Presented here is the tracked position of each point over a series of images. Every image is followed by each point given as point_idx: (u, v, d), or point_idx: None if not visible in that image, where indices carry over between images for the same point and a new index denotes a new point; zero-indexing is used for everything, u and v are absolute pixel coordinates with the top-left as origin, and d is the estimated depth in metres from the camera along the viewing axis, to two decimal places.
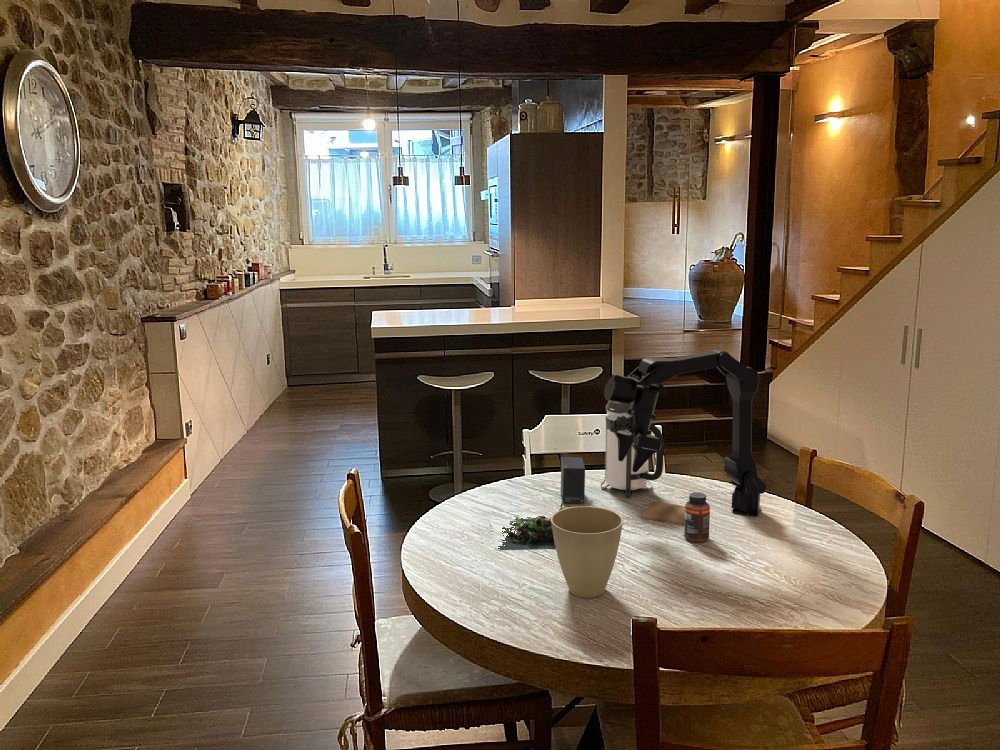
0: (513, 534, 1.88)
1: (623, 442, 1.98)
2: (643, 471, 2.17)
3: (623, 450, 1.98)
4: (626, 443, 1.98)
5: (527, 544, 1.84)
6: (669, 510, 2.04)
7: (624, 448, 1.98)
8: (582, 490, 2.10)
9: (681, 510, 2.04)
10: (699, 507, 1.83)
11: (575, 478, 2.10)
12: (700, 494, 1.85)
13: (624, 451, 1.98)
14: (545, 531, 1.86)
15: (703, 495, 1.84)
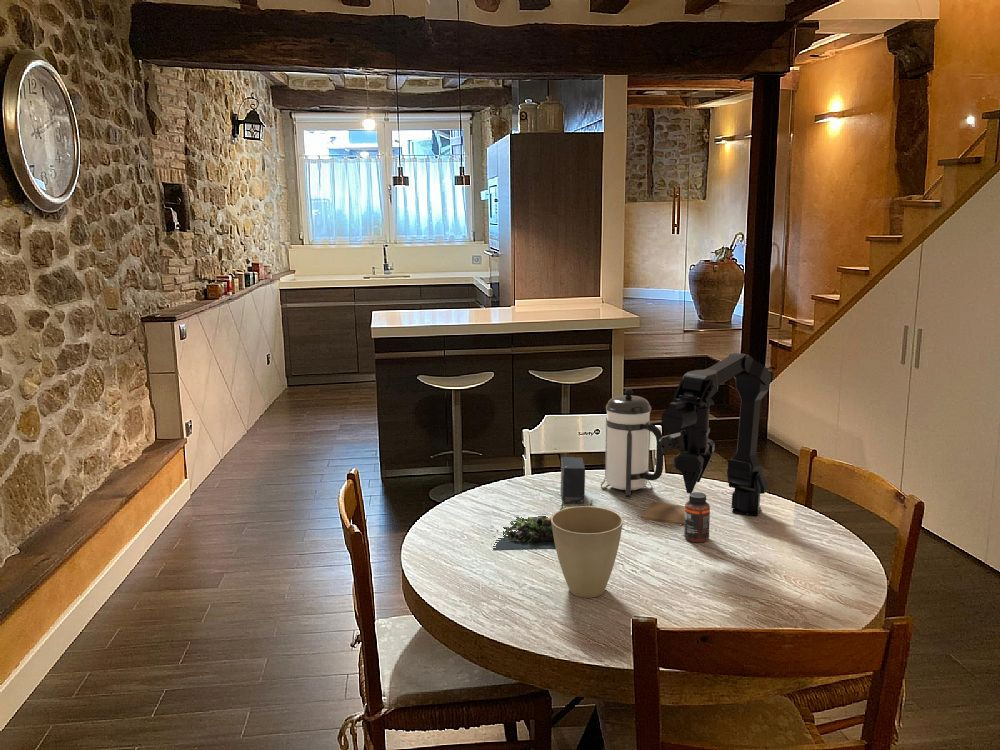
0: (514, 534, 1.88)
1: None
2: (643, 471, 2.17)
3: None
4: None
5: (528, 544, 1.84)
6: (669, 510, 2.04)
7: None
8: (582, 490, 2.10)
9: (681, 510, 2.04)
10: (699, 507, 1.83)
11: (575, 478, 2.10)
12: (700, 494, 1.85)
13: None
14: (546, 531, 1.86)
15: (703, 495, 1.84)
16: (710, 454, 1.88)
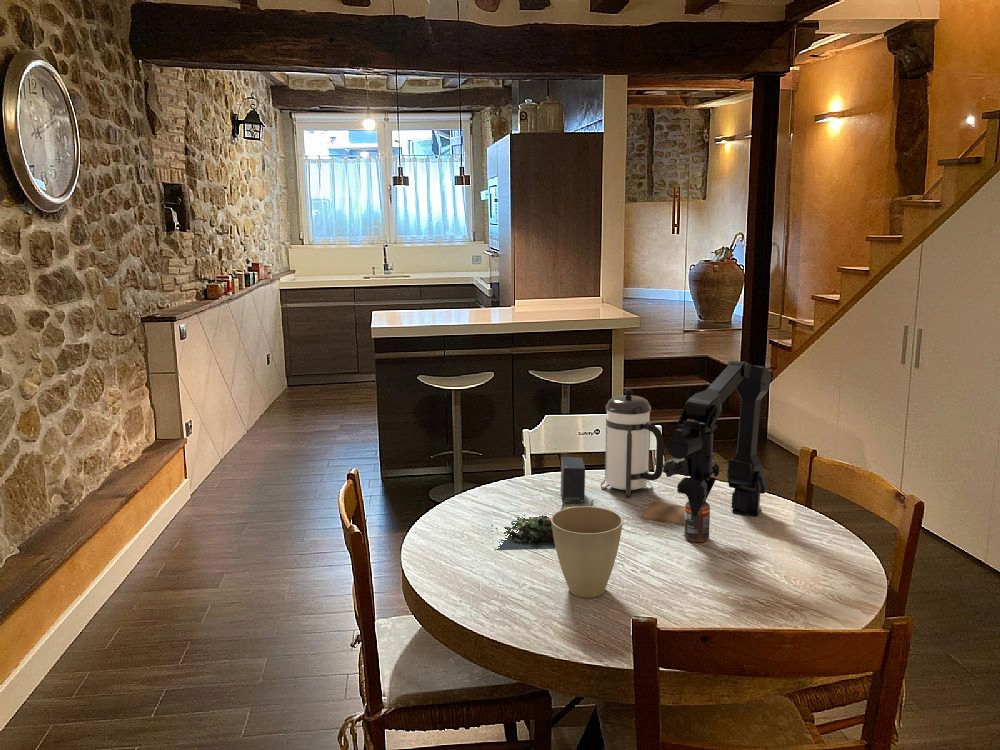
0: (515, 534, 1.88)
1: None
2: (643, 471, 2.17)
3: None
4: None
5: (529, 544, 1.84)
6: (669, 510, 2.04)
7: None
8: (582, 490, 2.10)
9: (681, 510, 2.04)
10: None
11: (575, 478, 2.10)
12: None
13: None
14: (547, 531, 1.86)
15: None
16: (713, 479, 1.87)
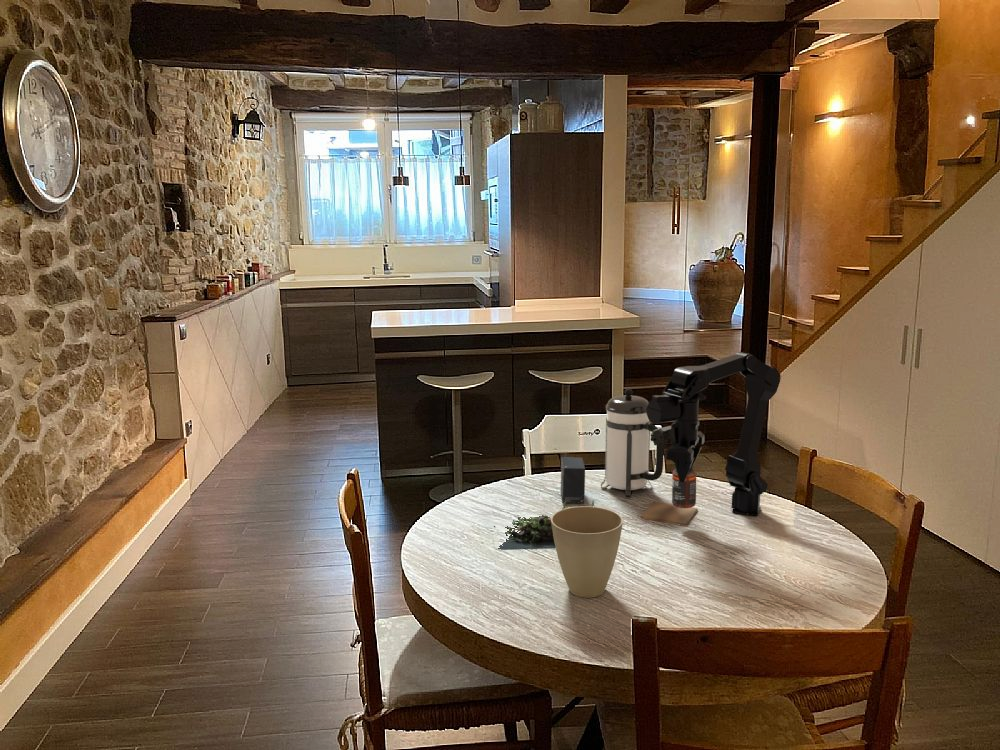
0: (516, 534, 1.88)
1: None
2: (643, 471, 2.17)
3: None
4: None
5: (530, 543, 1.84)
6: (669, 510, 2.04)
7: None
8: (582, 490, 2.10)
9: (681, 510, 2.04)
10: None
11: (575, 478, 2.10)
12: None
13: None
14: (548, 530, 1.86)
15: None
16: (699, 447, 1.94)
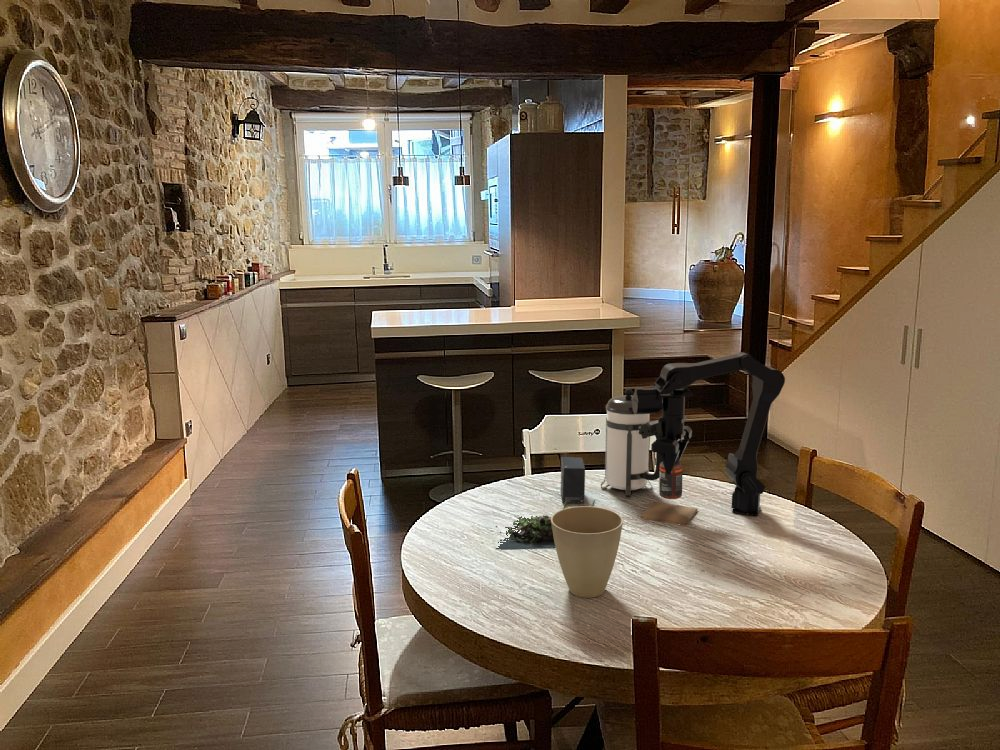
0: (517, 533, 1.88)
1: None
2: (643, 471, 2.17)
3: None
4: None
5: (531, 543, 1.84)
6: (669, 510, 2.04)
7: None
8: (582, 490, 2.10)
9: (681, 510, 2.04)
10: None
11: (575, 478, 2.10)
12: None
13: None
14: (549, 530, 1.86)
15: None
16: (686, 441, 2.02)
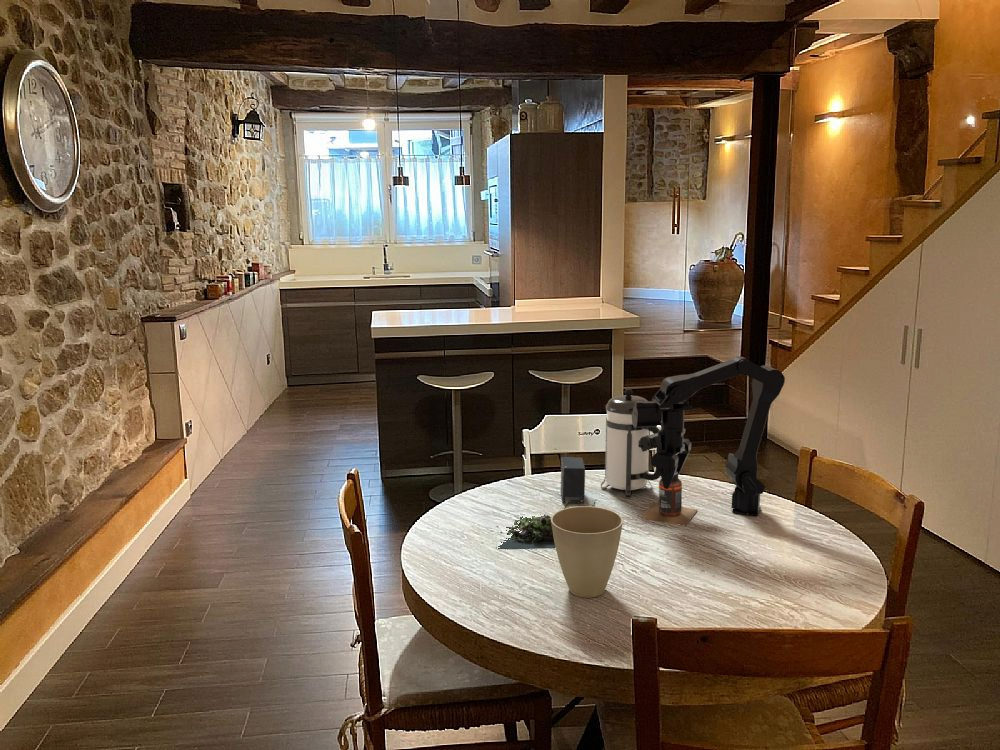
0: (518, 533, 1.88)
1: None
2: (643, 471, 2.17)
3: (675, 468, 2.05)
4: (677, 461, 2.04)
5: (532, 543, 1.85)
6: None
7: (676, 466, 2.04)
8: (582, 490, 2.10)
9: (681, 511, 2.04)
10: (672, 484, 1.99)
11: (575, 478, 2.10)
12: None
13: (677, 468, 2.05)
14: (550, 530, 1.86)
15: (675, 473, 2.00)
16: (686, 453, 2.04)
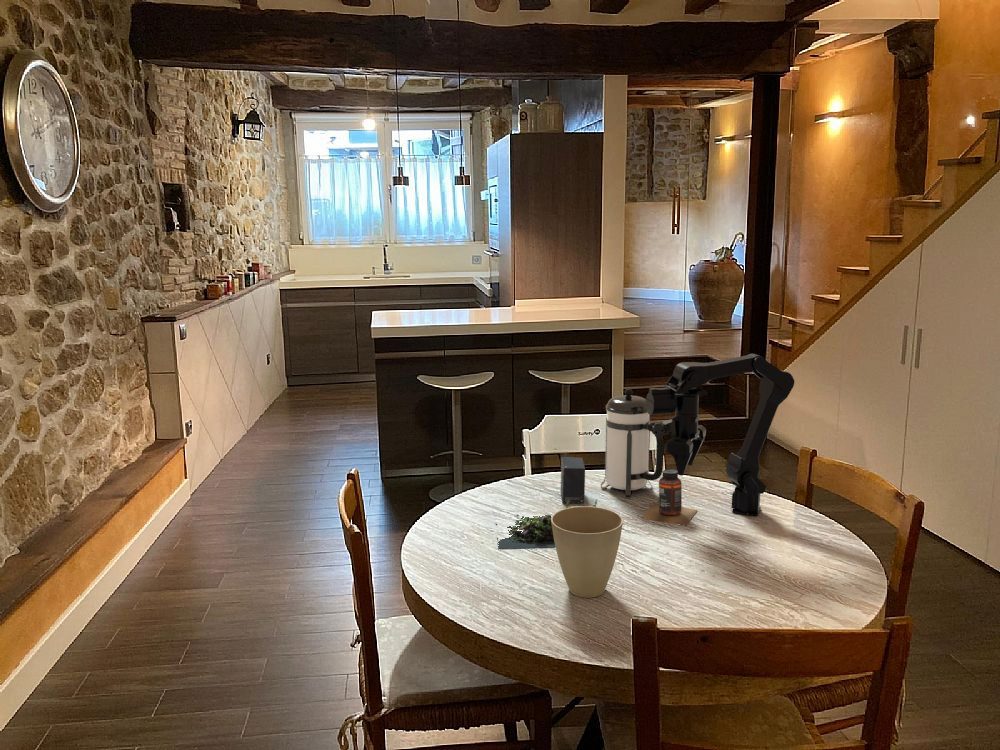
0: (519, 533, 1.88)
1: None
2: (643, 471, 2.17)
3: (690, 454, 2.02)
4: (692, 447, 2.02)
5: (534, 543, 1.85)
6: None
7: (691, 452, 2.02)
8: (582, 490, 2.10)
9: (681, 511, 2.04)
10: (671, 482, 1.99)
11: (575, 478, 2.10)
12: (672, 471, 2.02)
13: (692, 455, 2.02)
14: (551, 530, 1.87)
15: (675, 471, 2.01)
16: (701, 439, 2.02)
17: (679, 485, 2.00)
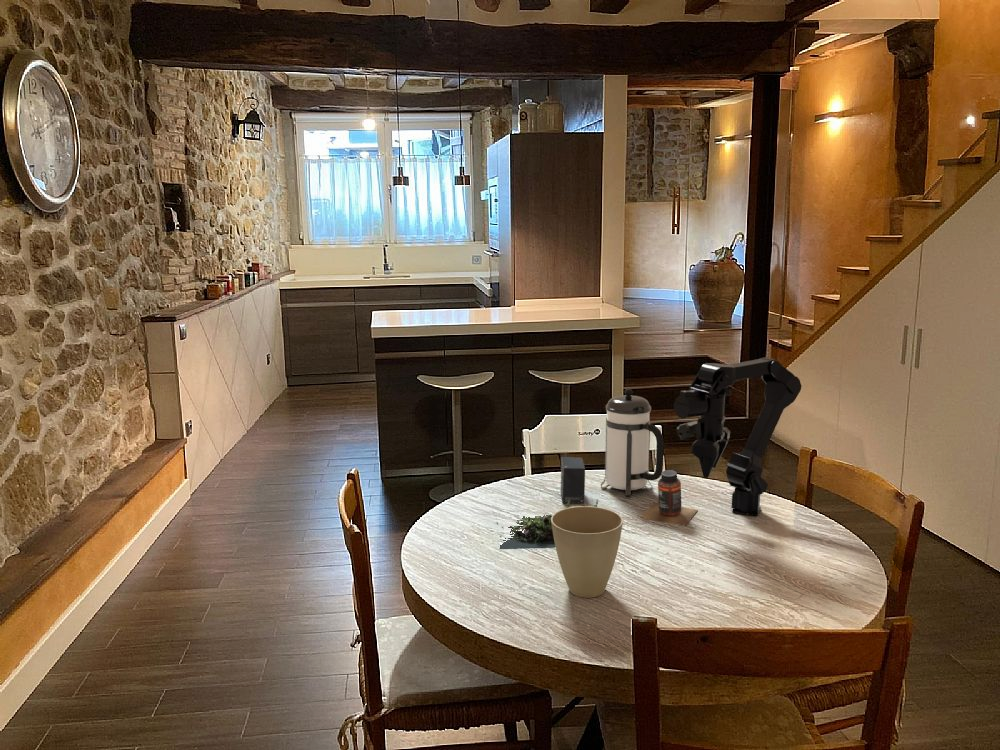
0: (521, 533, 1.88)
1: None
2: (643, 471, 2.17)
3: None
4: None
5: (535, 543, 1.85)
6: None
7: None
8: (582, 490, 2.10)
9: (681, 511, 2.04)
10: (669, 485, 1.98)
11: (575, 478, 2.10)
12: (671, 472, 2.00)
13: None
14: None
15: (673, 473, 1.99)
16: (725, 441, 1.99)
17: (677, 487, 1.98)
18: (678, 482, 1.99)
